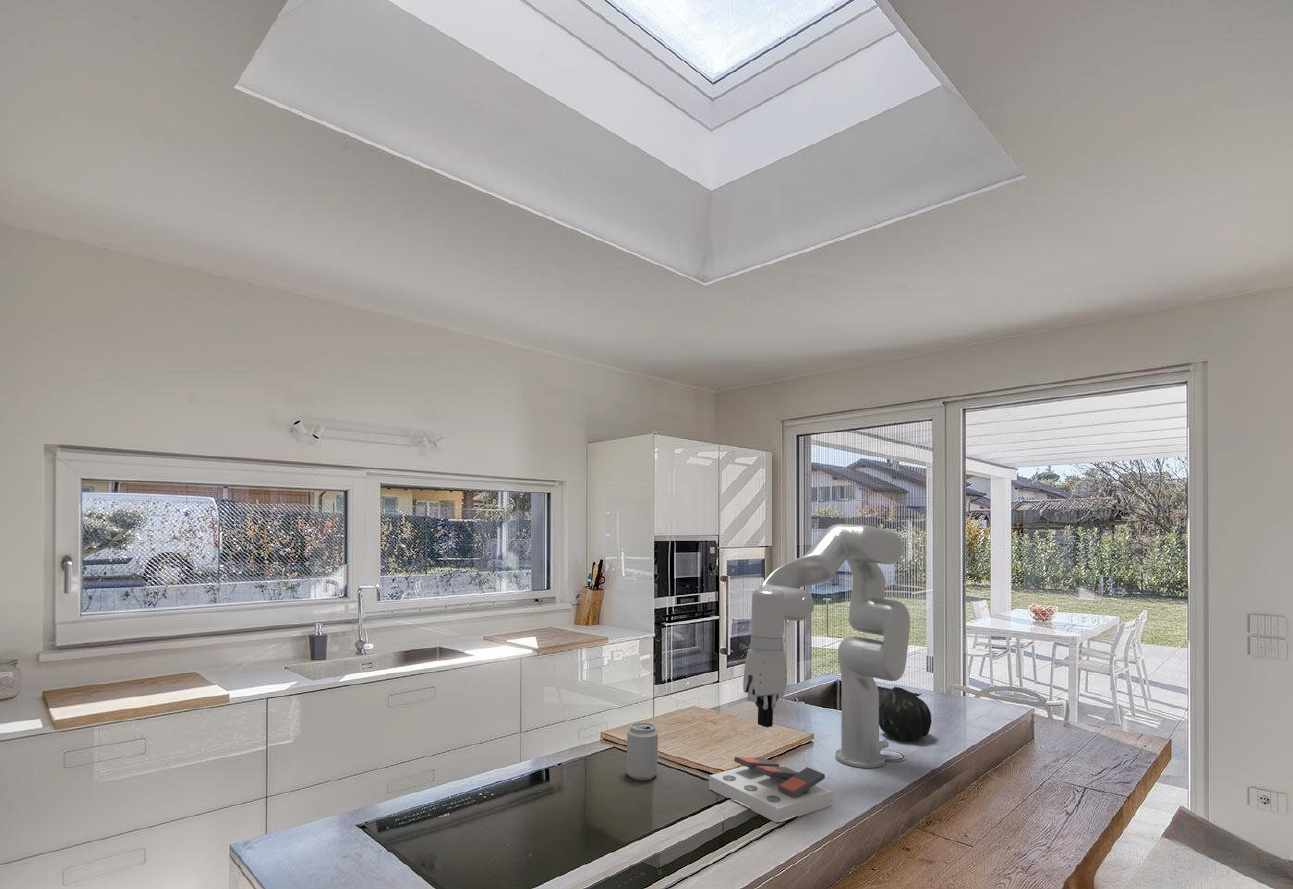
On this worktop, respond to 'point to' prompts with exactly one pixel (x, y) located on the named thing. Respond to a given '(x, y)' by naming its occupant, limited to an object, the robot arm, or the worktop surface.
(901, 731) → the squash
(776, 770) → the rocker middle
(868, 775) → the worktop surface
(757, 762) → the rocker
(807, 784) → the rocker
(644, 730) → the can
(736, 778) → the rocker switch panel
